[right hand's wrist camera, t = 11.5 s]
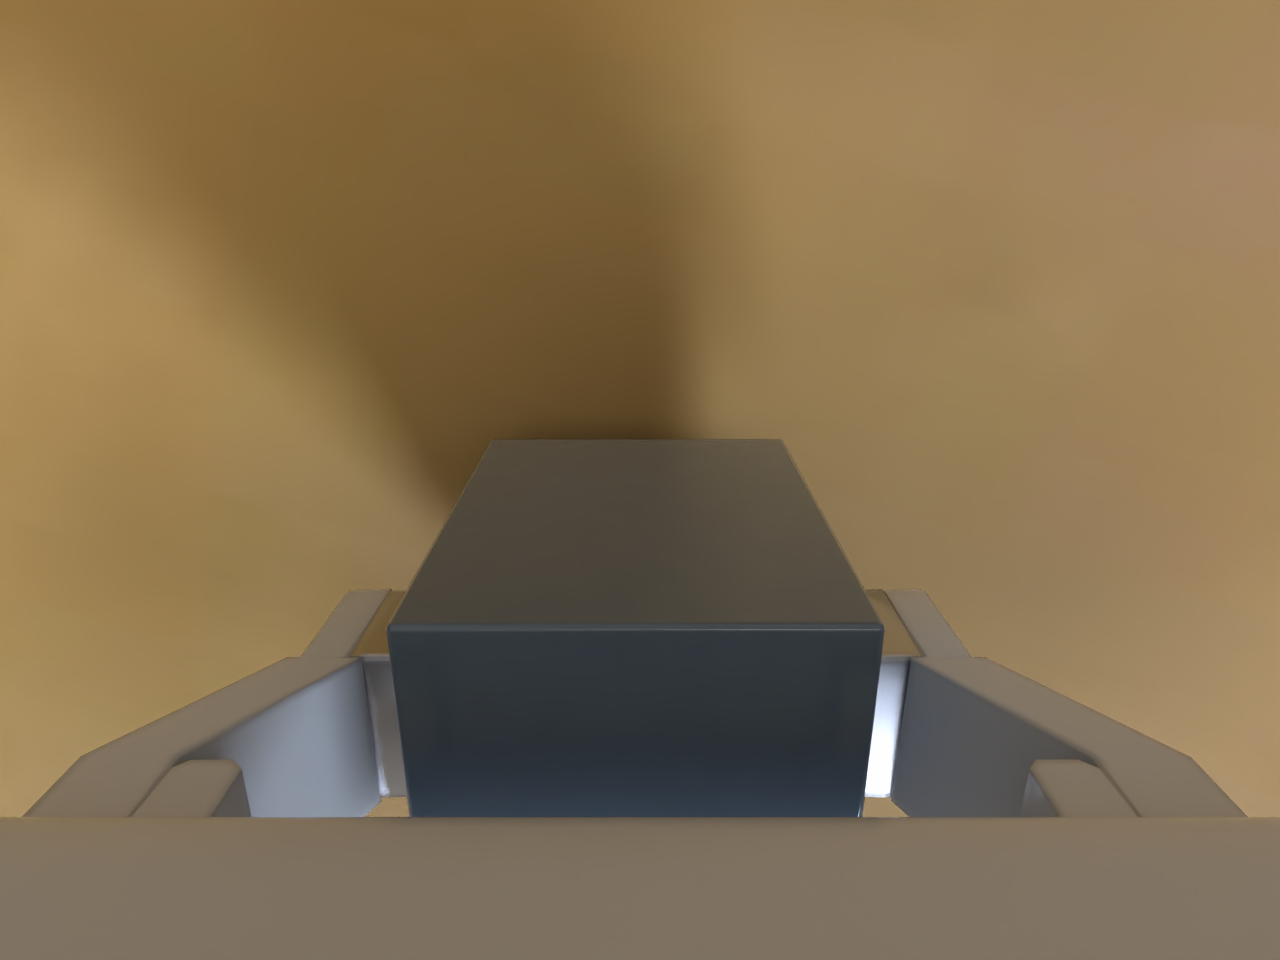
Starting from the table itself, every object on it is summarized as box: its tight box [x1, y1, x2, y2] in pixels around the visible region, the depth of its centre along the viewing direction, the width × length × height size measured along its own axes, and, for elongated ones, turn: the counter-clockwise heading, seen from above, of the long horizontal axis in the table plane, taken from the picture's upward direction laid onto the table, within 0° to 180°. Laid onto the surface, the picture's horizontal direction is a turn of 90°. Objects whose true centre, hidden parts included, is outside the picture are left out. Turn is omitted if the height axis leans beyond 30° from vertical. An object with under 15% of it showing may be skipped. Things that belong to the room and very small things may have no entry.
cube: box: [386, 439, 885, 817], centre depth 9 cm, size 4×4×5 cm
